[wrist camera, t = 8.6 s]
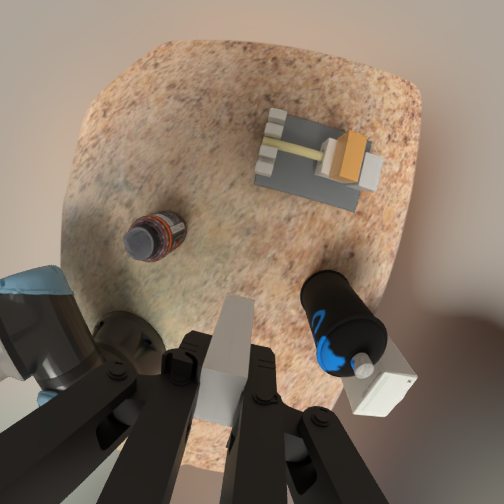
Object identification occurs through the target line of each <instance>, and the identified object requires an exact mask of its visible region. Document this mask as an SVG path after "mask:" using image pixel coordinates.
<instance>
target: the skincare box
mask: <svg viewBox="0 0 504 504" xmlns="http://www.w3.org/2000/svg"><path fill="white" fill-rule="evenodd" d="M387 335H388V334H387ZM341 379H342V382H343V385H344V388H345V391H346V393H347V396H348V399H349V402H350V405H351V408H352V411H353V414H357V415H369V416H380V417H386V416H387V415H388V414H389V412H390V411H391V410H392V409H393V408H394V407H395V405H396V404H397V403H398V402H400V401H401V400H402V399H403V398H404V396H405V393H406V392H407V391H408V390H409V388H410V387H411V386H412V384H413V383H414V382H415V381H416V379H417V375H416V374H415V373H414V371H413V370H412V368H411V367H410V366H409V364H408V363H407V361H406V360H405V358H404V357H403V355H402V354H401V353H400V351H399V350H398V348H397V347H396V346H395V344H394V343H393V341H392V340H391V339H390V337H389V336H388V342H387V346H386V349H385V352H384V354H383V355H382V357H381V358H380V360H379V361H378V362H377V363H376V364H375V365H374V371H373V373H372V374H371V375H370V376H368V377H367V378H364V379H360V378H357V377H356V376H352V377H341Z"/></svg>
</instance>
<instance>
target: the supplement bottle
mask: <svg viewBox="0 0 504 504" xmlns="http://www.w3.org/2000/svg"><path fill="white" fill-rule="evenodd" d="M185 236H186V225H185V222H184V220H183V219H182V218H181V216H179V215H178V214H177V213H175V212H171V211H163V212H159V213H155V214H151V215H147V216H143V217H141V218H139V219H137V220H136V221H135V222H134V223H133V224H132V225H131V227H130V229H129V231H128V232H127V234H126V236H125V241H124V244H125V249H126V251H127V253H128V254H129V255H130V256H131V257H132V258H134V259H136V260H142V261H145V262H155V261H158V260H160V259H162V258H163V257H165V256H166V255H167V254H169V253H170V252H171V251H173V250H174V249H176V248H177V247H179V246H180V245H181V244H182V242H183V241H184V239H185Z"/></svg>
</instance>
